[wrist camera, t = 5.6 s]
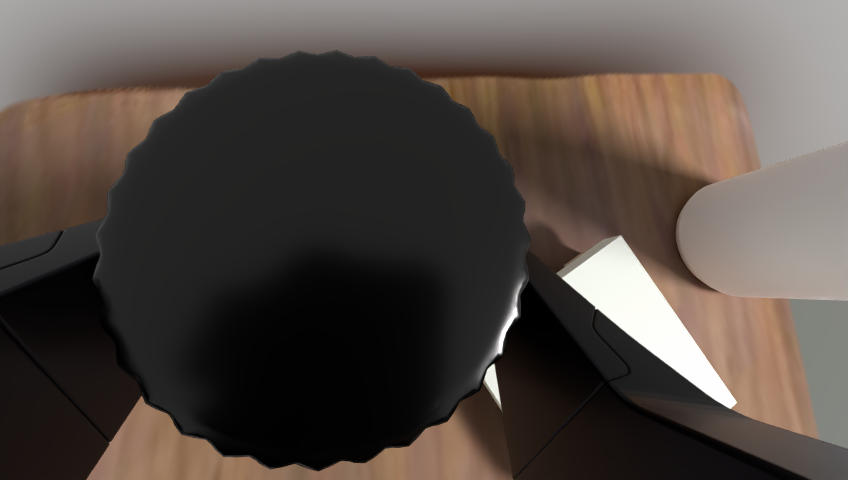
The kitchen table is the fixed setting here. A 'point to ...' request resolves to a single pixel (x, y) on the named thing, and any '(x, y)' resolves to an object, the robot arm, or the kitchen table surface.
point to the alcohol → (773, 230)
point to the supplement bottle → (312, 259)
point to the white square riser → (635, 313)
